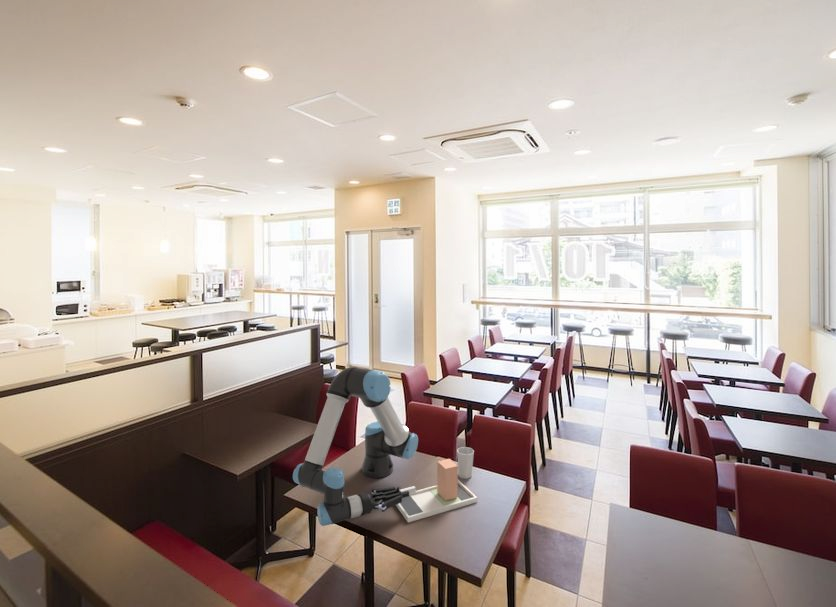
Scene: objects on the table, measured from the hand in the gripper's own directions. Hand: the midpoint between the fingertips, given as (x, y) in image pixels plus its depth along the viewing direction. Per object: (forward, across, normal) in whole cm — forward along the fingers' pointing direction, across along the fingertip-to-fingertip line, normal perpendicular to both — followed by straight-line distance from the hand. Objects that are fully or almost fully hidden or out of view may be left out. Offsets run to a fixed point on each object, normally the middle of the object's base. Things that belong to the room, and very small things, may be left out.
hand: (414, 489), depth 165 cm
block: (+16, -1, -7) cm, 17 cm away
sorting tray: (+10, -1, -8) cm, 13 cm away
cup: (+33, -13, -8) cm, 37 cm away
